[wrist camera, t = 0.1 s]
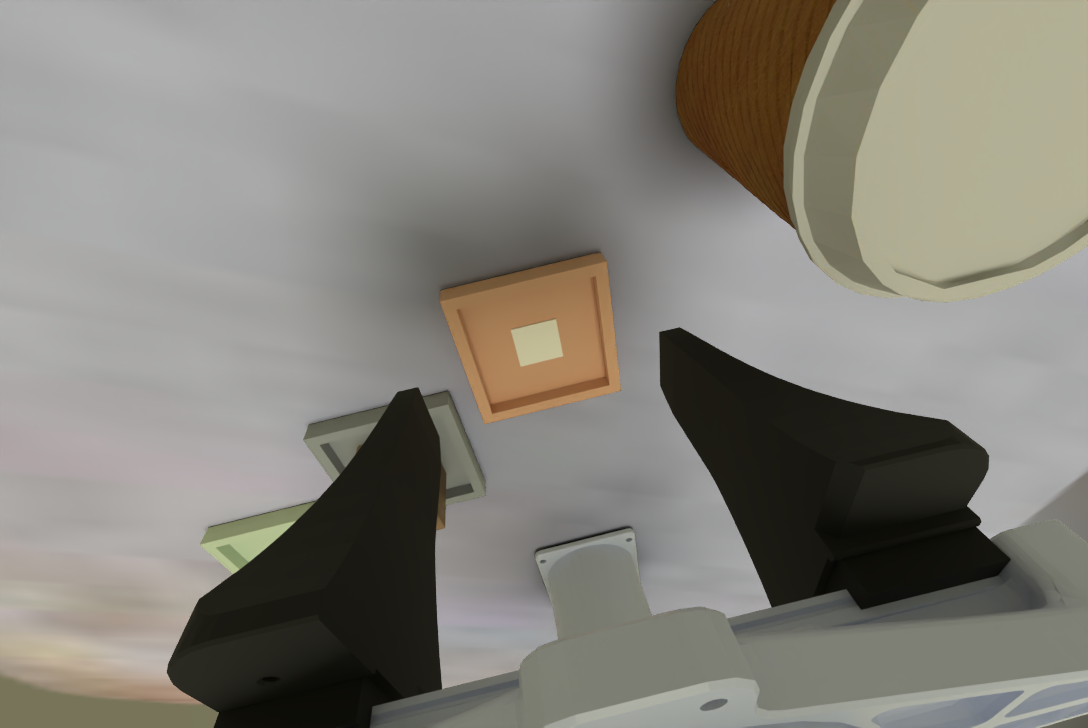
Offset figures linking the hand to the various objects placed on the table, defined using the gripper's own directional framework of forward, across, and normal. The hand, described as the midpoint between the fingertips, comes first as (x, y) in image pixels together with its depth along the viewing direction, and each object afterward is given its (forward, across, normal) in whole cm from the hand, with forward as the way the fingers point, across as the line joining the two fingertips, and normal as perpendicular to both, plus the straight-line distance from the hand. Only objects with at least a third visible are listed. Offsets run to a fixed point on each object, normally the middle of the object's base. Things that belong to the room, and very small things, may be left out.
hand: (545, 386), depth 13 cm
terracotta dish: (+10, 0, +5) cm, 11 cm away
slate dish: (+10, +9, +11) cm, 17 cm away
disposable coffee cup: (+10, -11, -5) cm, 16 cm away
